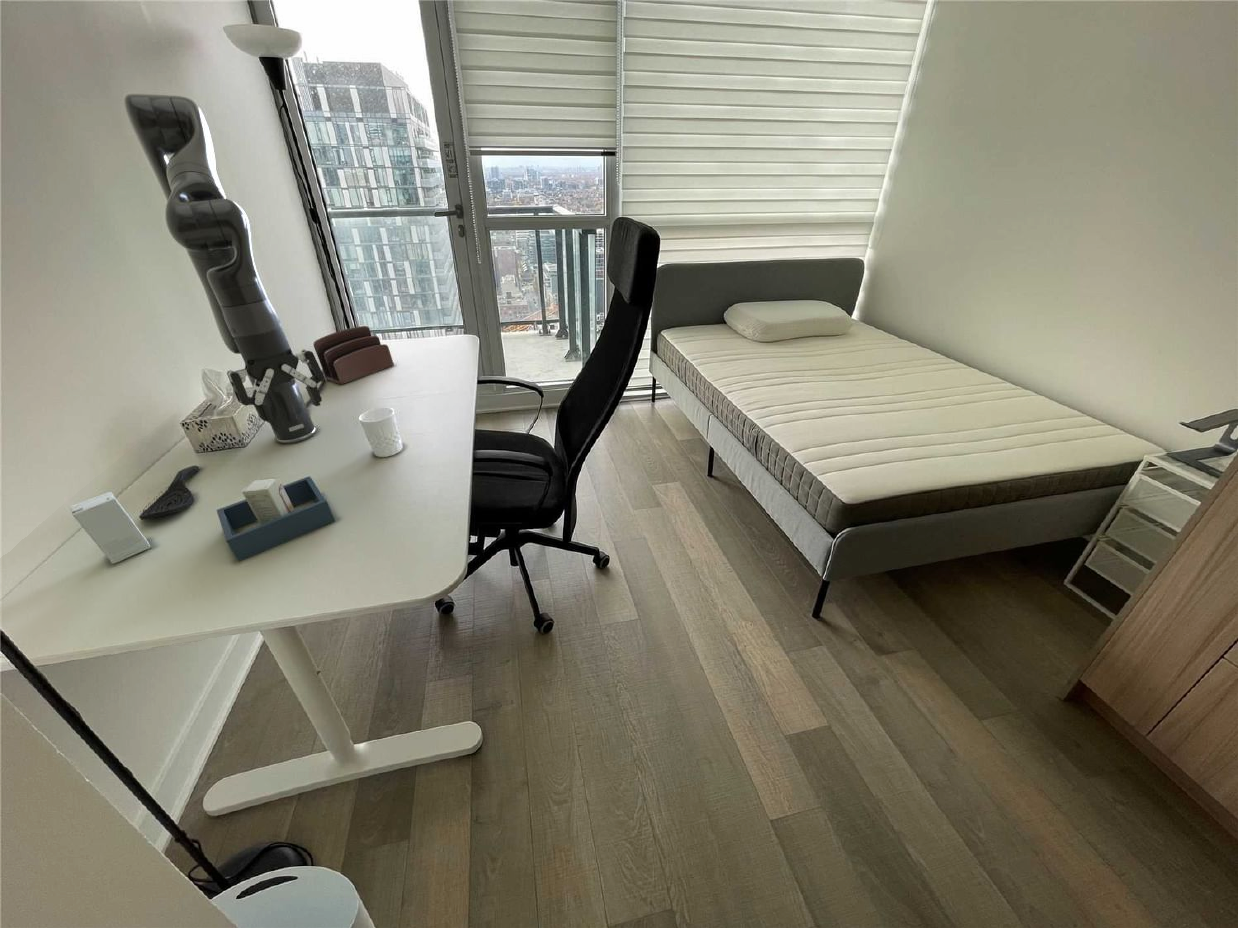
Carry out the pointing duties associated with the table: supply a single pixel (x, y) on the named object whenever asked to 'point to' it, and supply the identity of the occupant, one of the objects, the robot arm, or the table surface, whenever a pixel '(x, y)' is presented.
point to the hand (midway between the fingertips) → (293, 413)
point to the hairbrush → (172, 496)
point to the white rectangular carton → (267, 499)
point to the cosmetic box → (110, 527)
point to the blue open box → (275, 520)
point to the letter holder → (351, 354)
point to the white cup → (381, 431)
